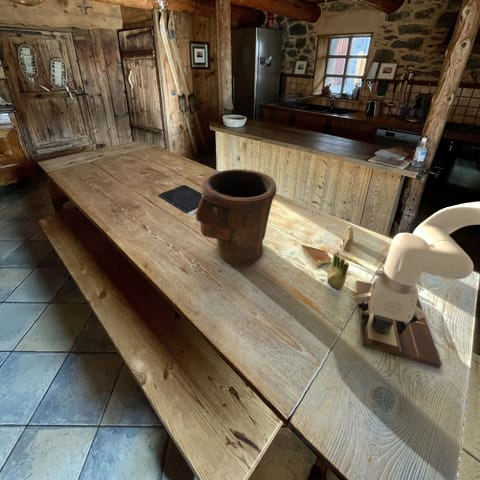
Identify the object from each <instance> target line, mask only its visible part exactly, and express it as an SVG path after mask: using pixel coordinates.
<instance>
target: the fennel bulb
mask: <svg viewBox="0 0 480 480" xmlns="http://www.w3.org/2000/svg"><path fill="white" fill-rule="evenodd" d="M349 267H350V264H349V262H347V261H346V259H345V257H342V258H341V256H340V255H339V253H338V254H337V252H334V253H333V257H332V263H331V265H330V267H329V270H328V273H327V278H326V280H327V284H328V285H329V286H330V287H331V288H332V289H335V290H341V289H342V288H343V287H344V285H345V283H346V280H347V275H348V270H349Z"/></svg>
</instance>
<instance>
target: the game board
mask: <svg viewBox="0 0 480 480" xmlns="http://www.w3.org/2000/svg"><path fill="white" fill-rule="evenodd" d="M372 284H373V283H371V282H367V281H361V280H355V289H356V295H358V294H364V293H369V291H370V288H371V286H372ZM367 301H369V300H365V301H363V302H364V303H365V302H367ZM416 306H417V307H418V308H420V309H421V310H422V311H423V307H422V304H421V302H420V299H419V297H418V298H417V303H416ZM357 309H358V321H359V330H360V339H361V346H362V347H365V348H368V349H372V350H376V351H379V352H383V353H386V354H390V355H392V356H396V357H400V358H403V359H407V360H409V361H413V362H417V363H421V364H424V365H427V366H430V367H435V368H438V369H440V368H441V367H442V362H441V360H440V359H441V358H440V356H439V353H438V351H437V347H436V345H435V342H434V339H433V336H432V333H431V330H430V327H429V325H428V321H427V318H426V316H425V317H424V318H421V319H418V321H416V322H412V323H410V325H409V326H406V329H405V331H403V332H402V335H399V334H398V331H397V327H396V323H397V320H395V319H393V320H394V322H393V325H392V327H391V330H390V332H389V334H387V335H381V334H379V333H377V332H376V331H375V330H374V329H373V328H372V326H371V321H372V318H373V315H374V314H373V313H370V314H369V315H370V317H369V320H368V323H367V325H364V322H363V320H362V319H361V314H362V310H361V309H360V307H359V305H358V304H357ZM423 312H424V311H423ZM414 313H415V312H414Z"/></svg>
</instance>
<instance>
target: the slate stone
mask: <svg viewBox="0 0 480 480" xmlns="http://www.w3.org/2000/svg"><path fill="white" fill-rule="evenodd" d="M393 322H394V320H393V319H391V318H387V317H383V316H379V315H376V314H374V315H373V318H372V321H371V326H372V328H373V329H374V330H375V331H376V332H377V333H379V334H381V335H387V334H389V332H390V330H391V327H392V325H393Z"/></svg>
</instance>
